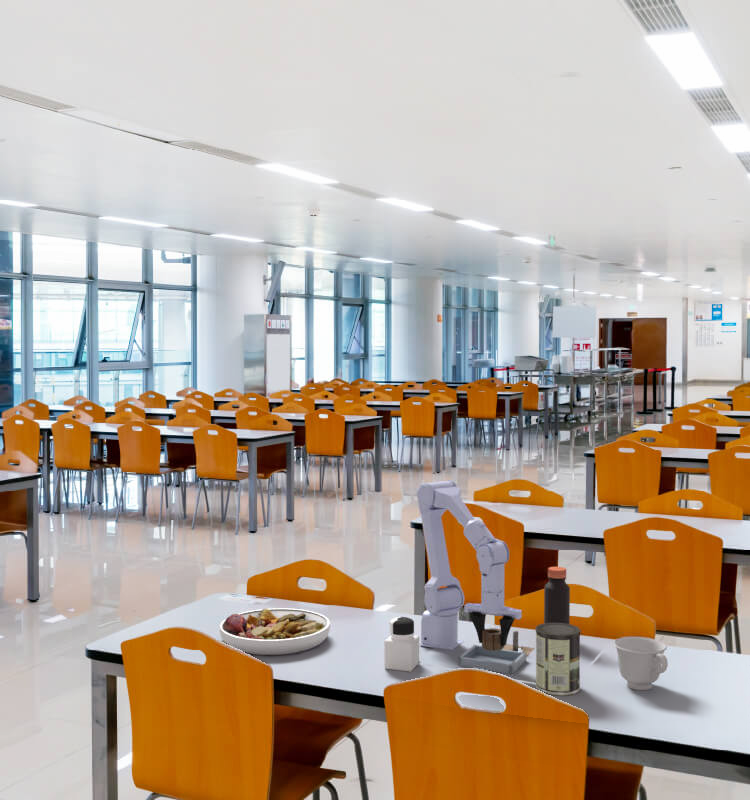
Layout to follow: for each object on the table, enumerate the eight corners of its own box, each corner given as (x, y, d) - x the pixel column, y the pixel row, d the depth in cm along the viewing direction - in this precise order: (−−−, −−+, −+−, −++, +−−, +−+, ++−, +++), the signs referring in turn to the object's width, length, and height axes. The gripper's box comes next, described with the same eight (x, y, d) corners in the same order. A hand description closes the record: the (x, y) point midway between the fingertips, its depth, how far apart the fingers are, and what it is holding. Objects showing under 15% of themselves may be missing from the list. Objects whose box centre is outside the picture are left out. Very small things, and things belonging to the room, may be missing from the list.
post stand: (495, 654, 238) (495, 633, 238) (505, 645, 245) (506, 625, 245) (525, 659, 234) (525, 637, 234) (534, 650, 241) (535, 629, 241)
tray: (458, 667, 228) (458, 657, 228) (474, 654, 238) (474, 644, 238) (511, 676, 222) (512, 666, 222) (526, 662, 231) (526, 652, 231)
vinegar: (574, 643, 247) (574, 570, 246) (552, 646, 244) (553, 572, 243) (560, 636, 253) (560, 564, 252) (539, 639, 251) (539, 567, 250)
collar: (479, 648, 229) (479, 632, 228) (486, 642, 233) (486, 627, 233) (499, 651, 226) (499, 635, 226) (506, 645, 231) (506, 630, 231)
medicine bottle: (419, 663, 231) (419, 616, 231) (411, 672, 225) (411, 624, 224) (392, 660, 234) (392, 613, 233) (384, 669, 227) (384, 621, 226)
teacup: (644, 703, 204) (644, 659, 204) (602, 681, 218) (603, 640, 218) (686, 694, 209) (686, 651, 209) (642, 674, 223) (643, 633, 222)
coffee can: (566, 678, 220) (566, 620, 220) (588, 693, 211) (588, 633, 210) (527, 682, 217) (528, 624, 217) (547, 698, 208) (548, 637, 207)
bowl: (314, 621, 269) (314, 594, 269) (343, 652, 241) (343, 623, 240) (212, 630, 260) (212, 603, 259) (229, 664, 231) (229, 634, 231)
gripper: (525, 589, 229) (525, 643, 230) (471, 583, 236) (471, 635, 236) (516, 596, 223) (516, 651, 223) (461, 589, 229) (461, 642, 230)
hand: (492, 643), depth 230 cm, fingers closed on collar, 5 cm apart
